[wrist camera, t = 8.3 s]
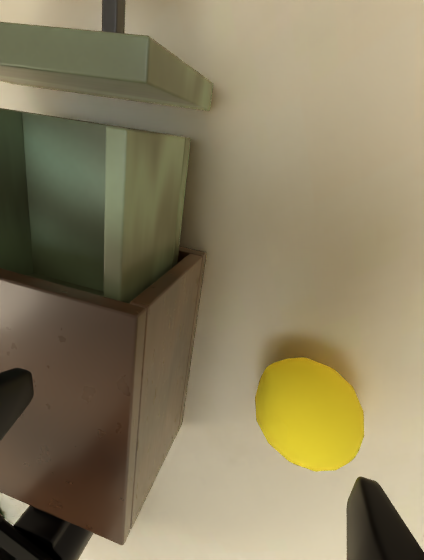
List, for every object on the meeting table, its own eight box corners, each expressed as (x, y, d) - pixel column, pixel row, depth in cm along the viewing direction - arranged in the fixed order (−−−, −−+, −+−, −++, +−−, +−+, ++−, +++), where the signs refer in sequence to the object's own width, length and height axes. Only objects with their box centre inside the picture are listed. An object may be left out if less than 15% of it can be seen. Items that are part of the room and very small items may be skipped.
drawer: (2, -53, 16) (-193, -183, 10) (229, -44, 14) (163, -205, 7) (28, 273, 22) (-78, 317, 16) (184, 315, 20) (129, 385, 14)
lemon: (240, 362, 21) (219, 423, 16) (308, 317, 19) (307, 374, 14) (310, 438, 22) (310, 518, 17) (385, 403, 20) (409, 486, 15)
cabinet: (26, 211, 22) (-130, 241, 14) (206, 252, 19) (137, 316, 12) (39, 374, 27) (-70, 462, 19) (182, 423, 25) (122, 546, 17)
